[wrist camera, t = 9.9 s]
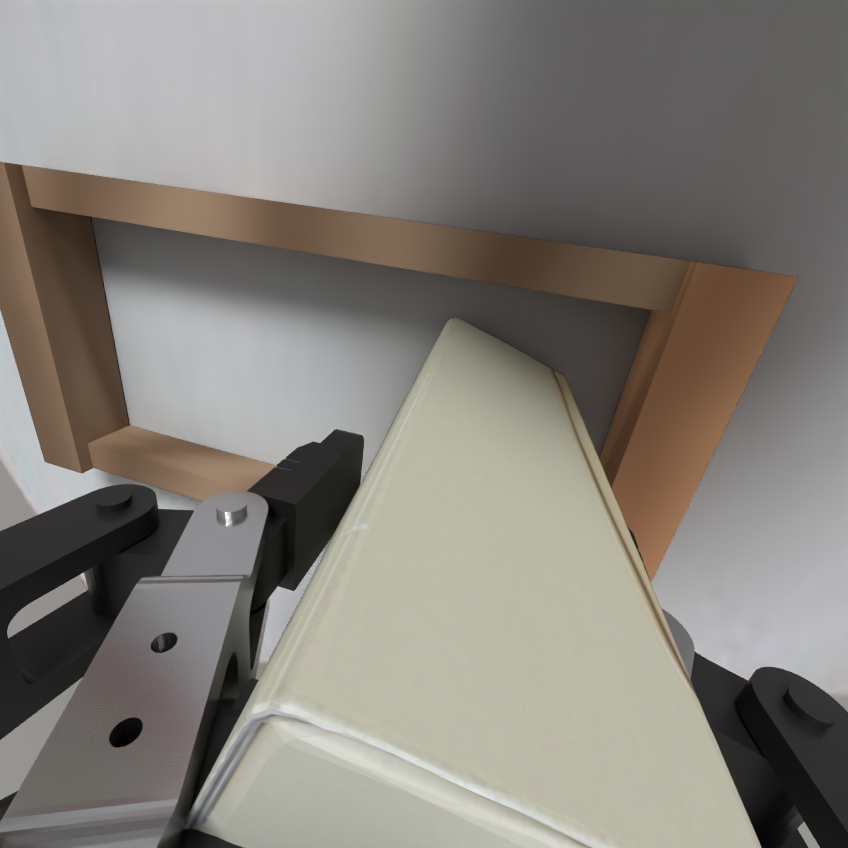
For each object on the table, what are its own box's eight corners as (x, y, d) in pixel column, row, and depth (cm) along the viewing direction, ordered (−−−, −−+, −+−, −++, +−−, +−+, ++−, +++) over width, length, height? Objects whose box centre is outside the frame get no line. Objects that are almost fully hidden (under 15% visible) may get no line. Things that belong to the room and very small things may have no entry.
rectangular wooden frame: (749, 269, 11) (798, 276, 9) (613, 585, 16) (623, 640, 14) (39, 167, 16) (-45, 155, 14) (99, 438, 21) (44, 462, 18)
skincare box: (474, 504, 16) (434, 1061, 6) (371, 453, 16) (122, 944, 5) (571, 368, 14) (863, 993, 3) (447, 302, 13) (233, 723, 2)
